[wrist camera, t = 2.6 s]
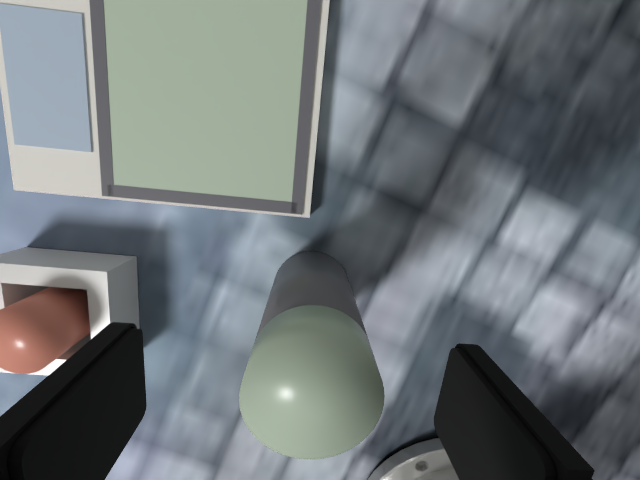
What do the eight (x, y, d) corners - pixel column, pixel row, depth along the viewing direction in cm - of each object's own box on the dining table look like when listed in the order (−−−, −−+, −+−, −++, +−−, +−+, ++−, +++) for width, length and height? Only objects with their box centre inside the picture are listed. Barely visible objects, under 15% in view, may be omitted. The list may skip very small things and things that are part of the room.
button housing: (136, 256, 17) (106, 271, 15) (140, 350, 19) (113, 379, 16) (25, 247, 17) (-25, 261, 14) (37, 343, 18) (-7, 371, 16)
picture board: (341, -132, 13) (344, -153, 13) (309, 215, 17) (309, 218, 16) (-17, -187, 13) (-42, -214, 12) (28, 189, 16) (11, 190, 15)
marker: (352, 254, 18) (394, 341, 9) (343, 323, 19) (373, 462, 10) (276, 248, 17) (242, 330, 9) (271, 318, 18) (236, 455, 10)
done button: (96, 286, 16) (50, 312, 13) (101, 340, 17) (57, 376, 14) (34, 281, 16) (-28, 306, 13) (40, 335, 17) (-17, 371, 14)
